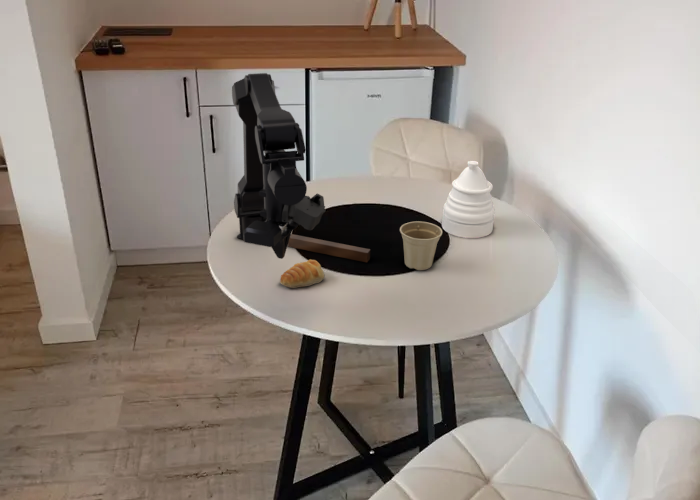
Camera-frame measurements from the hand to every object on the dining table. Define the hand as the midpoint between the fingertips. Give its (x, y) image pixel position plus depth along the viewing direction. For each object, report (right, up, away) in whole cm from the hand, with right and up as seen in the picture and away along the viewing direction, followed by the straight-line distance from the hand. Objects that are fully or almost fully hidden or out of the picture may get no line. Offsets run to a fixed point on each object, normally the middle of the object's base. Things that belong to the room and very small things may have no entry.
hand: (280, 257), depth 134 cm
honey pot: (+43, +7, +39) cm, 59 cm away
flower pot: (+29, -2, +21) cm, 36 cm away
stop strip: (+9, +1, +25) cm, 27 cm away
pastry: (+4, -5, +14) cm, 15 cm away
